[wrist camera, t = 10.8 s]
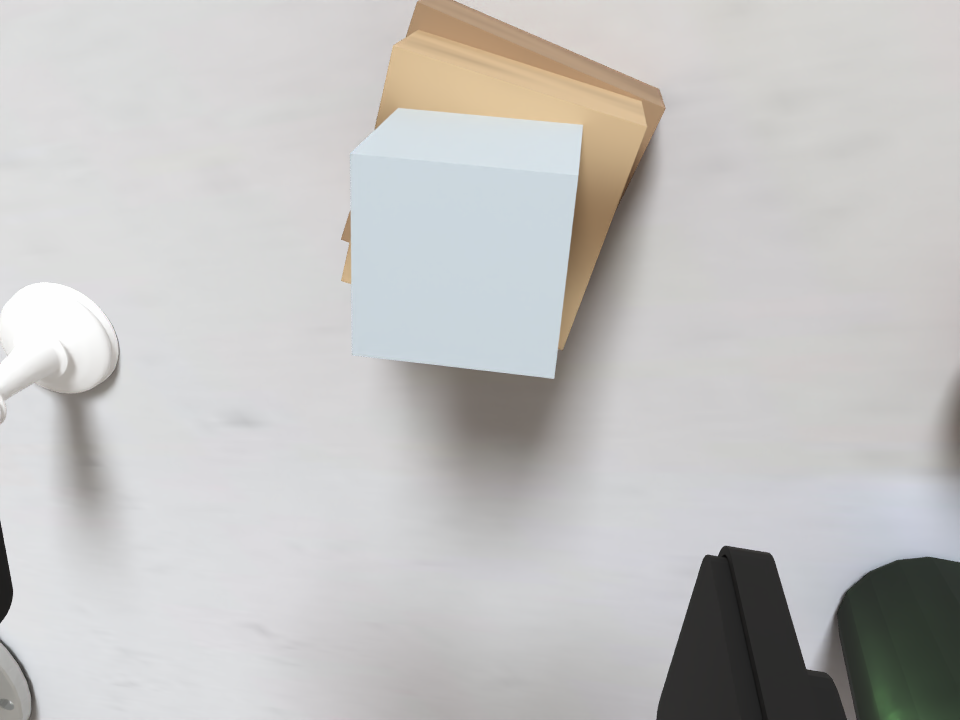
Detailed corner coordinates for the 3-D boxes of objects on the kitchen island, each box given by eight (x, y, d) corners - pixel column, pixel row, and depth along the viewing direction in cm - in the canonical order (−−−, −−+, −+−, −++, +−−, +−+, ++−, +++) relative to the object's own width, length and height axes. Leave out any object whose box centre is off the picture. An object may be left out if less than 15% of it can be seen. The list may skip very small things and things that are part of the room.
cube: (562, 296, 25) (554, 378, 21) (395, 278, 25) (351, 355, 21) (582, 124, 23) (578, 175, 18) (398, 108, 23) (349, 153, 19)
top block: (566, 303, 29) (562, 350, 26) (369, 241, 29) (341, 280, 26) (641, 101, 26) (647, 126, 22) (418, 29, 25) (392, 45, 22)
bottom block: (562, 288, 32) (558, 328, 29) (365, 207, 32) (341, 239, 29) (658, 87, 29) (665, 108, 26) (437, -9, 28) (417, 1, 25)
